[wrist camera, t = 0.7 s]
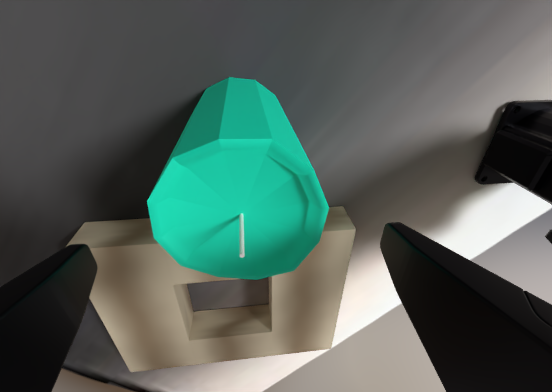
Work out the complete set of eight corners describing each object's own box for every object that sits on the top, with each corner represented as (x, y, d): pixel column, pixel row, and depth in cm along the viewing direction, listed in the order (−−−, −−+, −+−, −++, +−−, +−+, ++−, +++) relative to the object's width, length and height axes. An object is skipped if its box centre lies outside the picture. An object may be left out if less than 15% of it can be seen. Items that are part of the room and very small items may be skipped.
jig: (342, 206, 23) (356, 229, 20) (323, 322, 31) (330, 348, 29) (84, 222, 20) (63, 250, 18) (139, 341, 29) (130, 372, 26)
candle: (302, 130, 19) (377, 256, 9) (237, 181, 20) (236, 339, 10) (243, 53, 16) (252, 106, 6) (172, 120, 17) (80, 255, 7)
